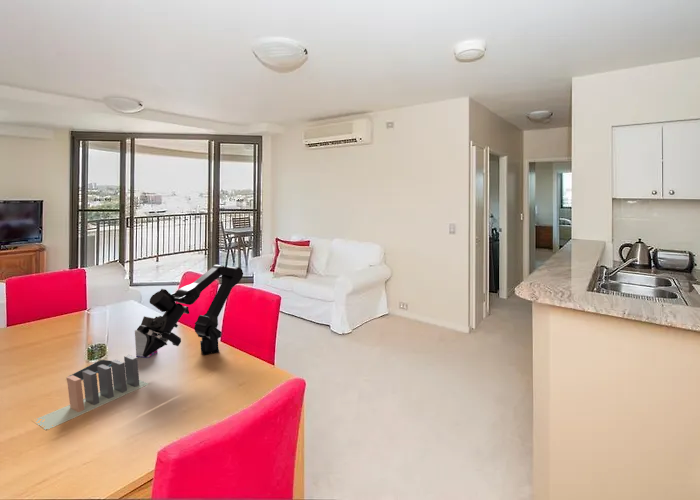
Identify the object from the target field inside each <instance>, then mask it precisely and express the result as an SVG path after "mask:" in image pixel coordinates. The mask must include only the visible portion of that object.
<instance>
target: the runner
mask: <svg viewBox="0 0 700 500" xmlns="http://www.w3.org/2000/svg"><path fill="white" fill-rule="evenodd" d="M126 385H127V391H125V392H123V393H121V392H119V391H117V390H115V389H114V386H113V393H114V397H112V398H109V399H108V398H106V397H104V396H102V395H100V391H98V394H99V403H98V404H96V405H92V404H90V403H88V402H86V400H85V398H83V401H84V410H82V411H80V412H77V411H75V410H74V409H72V408H70V404H68V405H66V406H64V407H61V408H59V409H57V410H54V411H52V412H49V413H46V414H44V415H42V416H40V417H37V418H36V419H38V420H37V421H36V422H38V421H39V420H40V419H42V420H41V421H40V423H37V424H38V426H39V425H40V426H42V425H43V426H42V427H44V426H45V427H44V428H42V427H41V428H42V430H45V431H47V430H46V429H48V430H51V429H53V428H54V427H57V426H59V425H62V424H64V423H66V422H68V421H70V420H72V419H74V418H77V417H79V416H81V415H83V414H86V413H88V412H91V411H93V410H95V409H96V408H100V407H101V406H104V405H106V404H107V403H110V402H112V401H114V400H117V399H118V398H122V397H123V396H126V395H128V394H130V393H132V392H135V391H137V390H139V389H141V388H143V387H146V386H148V385H150V383H148V382H146V381H144V380H141V379H139V386H136V387H133V386H131V385H129V384H127V383H126ZM44 419H45V421H44V422H42V421H43V420H44ZM37 424H36V425H37ZM52 425H53V426H52ZM40 426H39V427H40ZM50 428H51V429H50Z"/></svg>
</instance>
